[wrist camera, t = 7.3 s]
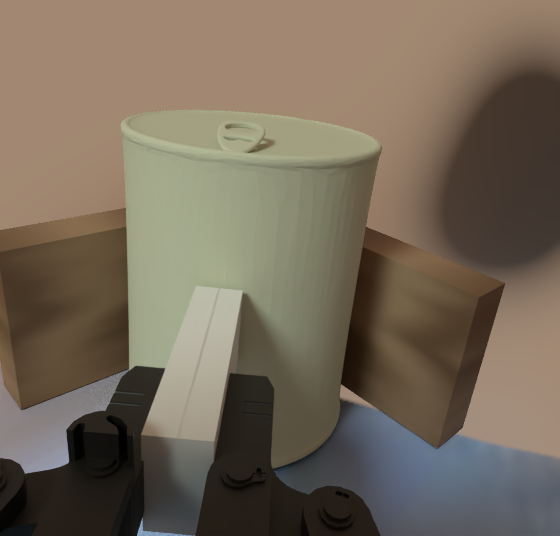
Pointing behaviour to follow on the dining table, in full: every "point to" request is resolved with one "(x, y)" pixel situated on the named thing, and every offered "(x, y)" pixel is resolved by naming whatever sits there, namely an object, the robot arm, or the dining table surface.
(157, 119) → the can
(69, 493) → the robot arm
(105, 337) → the v stop
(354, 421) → the dining table surface
